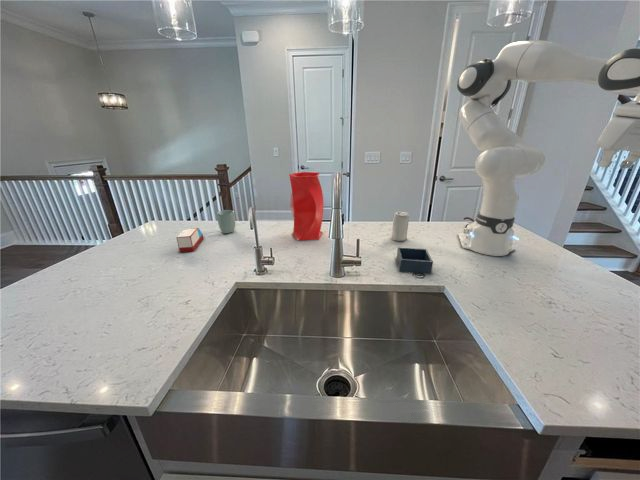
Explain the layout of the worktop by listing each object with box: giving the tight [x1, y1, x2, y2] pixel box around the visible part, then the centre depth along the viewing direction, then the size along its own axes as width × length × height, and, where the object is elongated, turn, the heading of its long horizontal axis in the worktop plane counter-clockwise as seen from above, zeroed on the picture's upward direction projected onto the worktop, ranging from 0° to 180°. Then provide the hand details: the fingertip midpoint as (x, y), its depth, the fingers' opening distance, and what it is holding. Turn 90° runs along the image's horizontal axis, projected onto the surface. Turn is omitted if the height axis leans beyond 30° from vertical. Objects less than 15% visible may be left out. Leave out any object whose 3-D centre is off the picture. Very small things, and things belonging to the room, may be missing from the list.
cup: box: [216, 209, 237, 234], centre depth 125 cm, size 8×8×10 cm
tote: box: [396, 247, 434, 275], centre depth 91 cm, size 10×10×5 cm
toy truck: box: [176, 227, 204, 253], centre depth 111 cm, size 6×15×7 cm, turn 8°
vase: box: [288, 171, 324, 241], centre depth 115 cm, size 15×14×28 cm
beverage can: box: [391, 211, 410, 242], centre depth 113 cm, size 6×6×12 cm
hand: (613, 167), depth 71 cm, fingers open, 8 cm apart
